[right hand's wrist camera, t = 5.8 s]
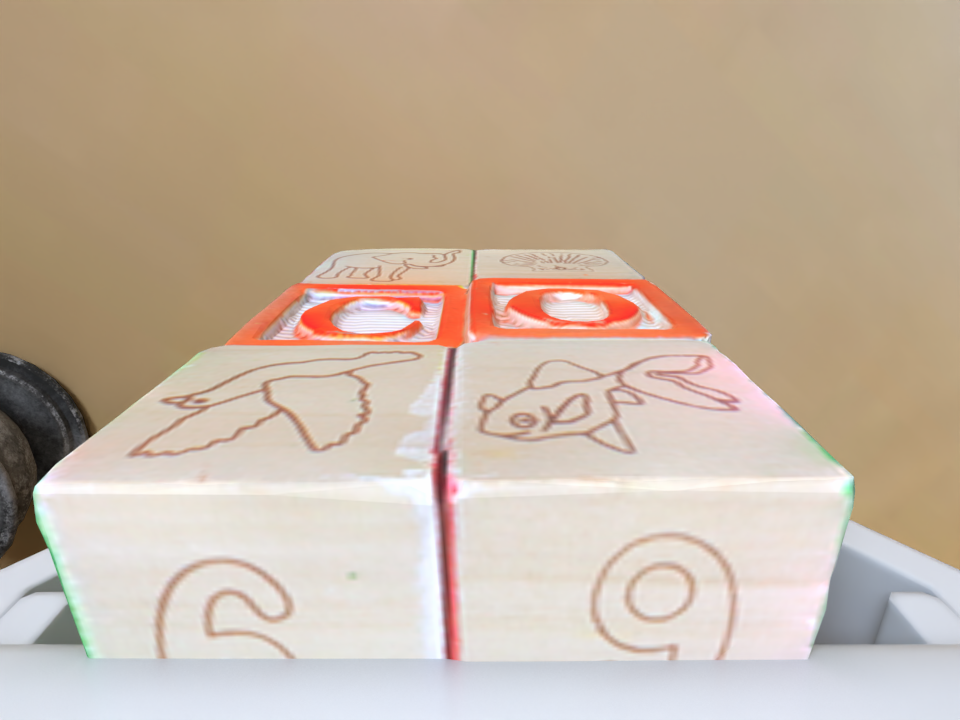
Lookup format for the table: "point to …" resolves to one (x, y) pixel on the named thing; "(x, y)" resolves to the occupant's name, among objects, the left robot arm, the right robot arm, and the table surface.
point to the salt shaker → (31, 436)
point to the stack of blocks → (452, 480)
